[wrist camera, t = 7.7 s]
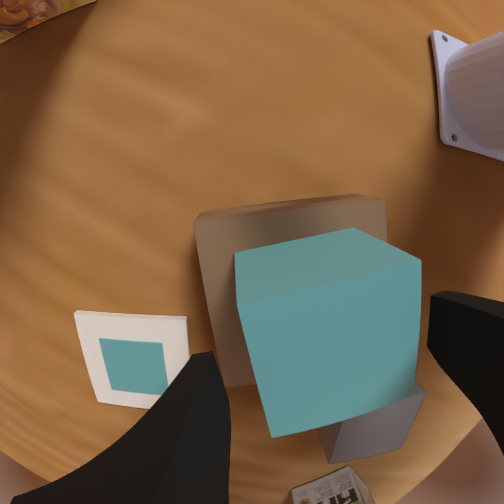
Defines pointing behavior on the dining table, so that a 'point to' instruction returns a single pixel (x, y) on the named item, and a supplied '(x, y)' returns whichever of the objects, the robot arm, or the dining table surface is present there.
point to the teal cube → (329, 326)
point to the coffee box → (334, 490)
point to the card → (132, 354)
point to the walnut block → (259, 235)
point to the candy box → (31, 14)
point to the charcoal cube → (371, 430)
